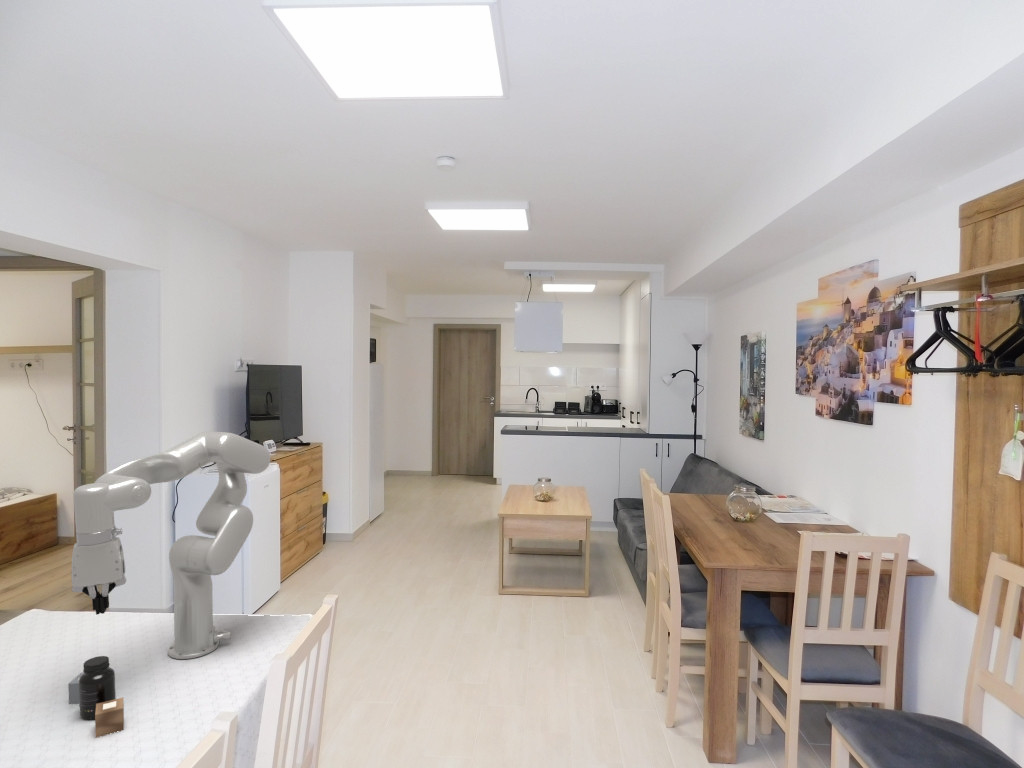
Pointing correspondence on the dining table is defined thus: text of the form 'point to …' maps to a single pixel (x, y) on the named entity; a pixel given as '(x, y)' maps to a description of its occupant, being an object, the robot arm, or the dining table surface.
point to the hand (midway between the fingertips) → (101, 611)
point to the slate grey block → (74, 690)
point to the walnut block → (109, 717)
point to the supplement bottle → (95, 685)
